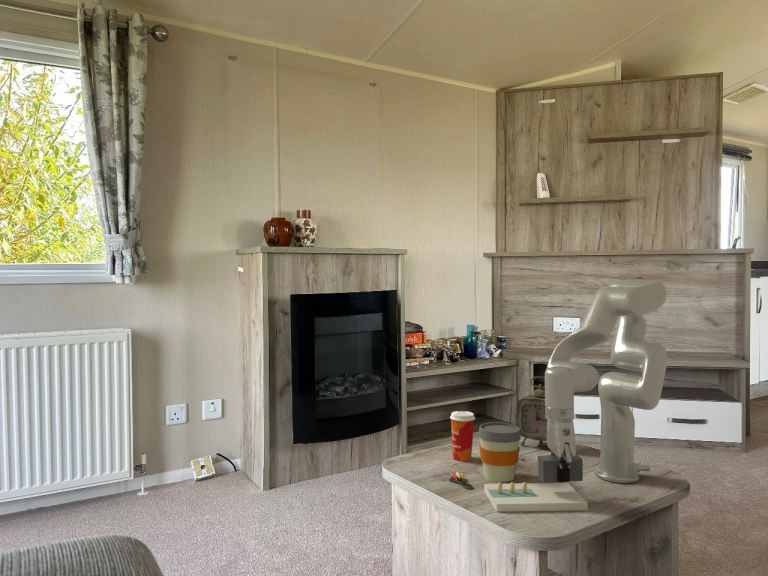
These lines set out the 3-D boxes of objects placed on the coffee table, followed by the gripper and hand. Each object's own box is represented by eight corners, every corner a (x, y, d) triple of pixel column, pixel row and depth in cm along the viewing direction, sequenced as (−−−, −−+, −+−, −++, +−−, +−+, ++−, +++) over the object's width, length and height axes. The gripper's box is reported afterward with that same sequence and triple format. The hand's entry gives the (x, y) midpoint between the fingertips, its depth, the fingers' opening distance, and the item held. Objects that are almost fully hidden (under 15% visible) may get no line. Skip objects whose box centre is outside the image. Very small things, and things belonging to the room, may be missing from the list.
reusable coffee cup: (506, 467, 184) (507, 420, 183) (528, 481, 172) (529, 431, 172) (470, 471, 180) (471, 423, 179) (490, 486, 168) (491, 435, 168)
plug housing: (576, 474, 162) (576, 453, 161) (582, 480, 157) (582, 459, 157) (538, 477, 161) (538, 455, 161) (543, 483, 157) (543, 461, 157)
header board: (567, 489, 166) (567, 472, 166) (587, 510, 152) (587, 491, 152) (484, 490, 165) (484, 473, 165) (496, 511, 151) (496, 492, 151)
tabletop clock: (515, 446, 206) (516, 376, 205) (523, 440, 214) (524, 372, 213) (556, 453, 199) (558, 380, 198) (563, 446, 206) (564, 376, 206)
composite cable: (474, 490, 166) (474, 481, 166) (459, 492, 165) (459, 483, 165) (461, 478, 176) (461, 470, 176) (446, 479, 174) (446, 471, 174)
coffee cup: (448, 454, 197) (449, 410, 196) (473, 454, 197) (473, 410, 196) (450, 462, 189) (451, 416, 188) (476, 463, 188) (476, 417, 188)
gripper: (585, 420, 150) (586, 490, 151) (561, 403, 167) (562, 466, 168) (556, 422, 150) (557, 491, 151) (536, 405, 166) (537, 467, 167)
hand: (560, 477), depth 159 cm, fingers closed on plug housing, 4 cm apart
